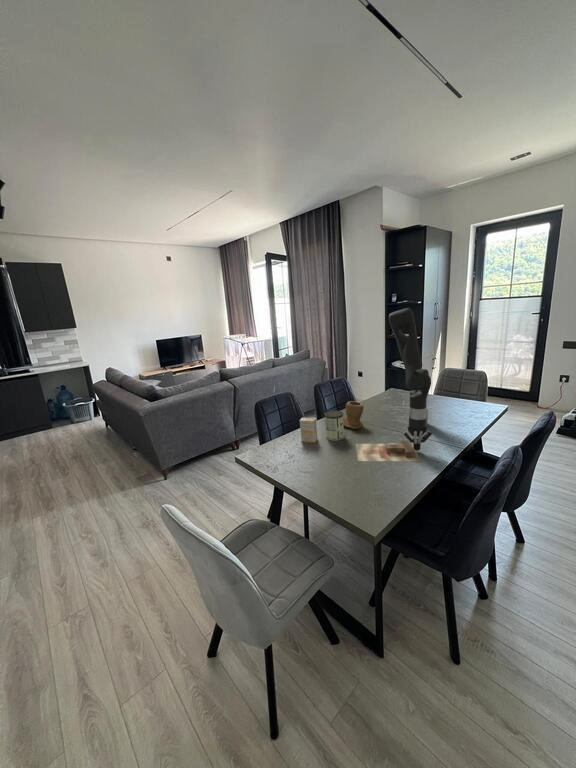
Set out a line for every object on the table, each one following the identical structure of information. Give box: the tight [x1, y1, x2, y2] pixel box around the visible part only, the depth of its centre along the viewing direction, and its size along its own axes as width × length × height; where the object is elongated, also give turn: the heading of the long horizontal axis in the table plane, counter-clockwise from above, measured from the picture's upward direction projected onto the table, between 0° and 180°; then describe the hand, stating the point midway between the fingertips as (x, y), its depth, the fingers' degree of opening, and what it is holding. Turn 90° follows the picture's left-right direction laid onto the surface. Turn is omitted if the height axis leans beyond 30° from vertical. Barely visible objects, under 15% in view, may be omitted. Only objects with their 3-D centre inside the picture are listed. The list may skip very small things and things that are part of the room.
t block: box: [385, 440, 415, 458], centre depth 148 cm, size 12×12×3 cm
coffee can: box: [324, 410, 345, 442], centre depth 171 cm, size 10×10×14 cm
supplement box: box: [299, 417, 319, 444], centre depth 169 cm, size 8×5×13 cm, turn 65°
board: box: [355, 442, 422, 462], centre depth 150 cm, size 28×18×1 cm, turn 81°
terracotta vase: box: [343, 400, 364, 430], centre depth 185 cm, size 15×12×15 cm
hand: (416, 449), depth 147 cm, fingers closed
